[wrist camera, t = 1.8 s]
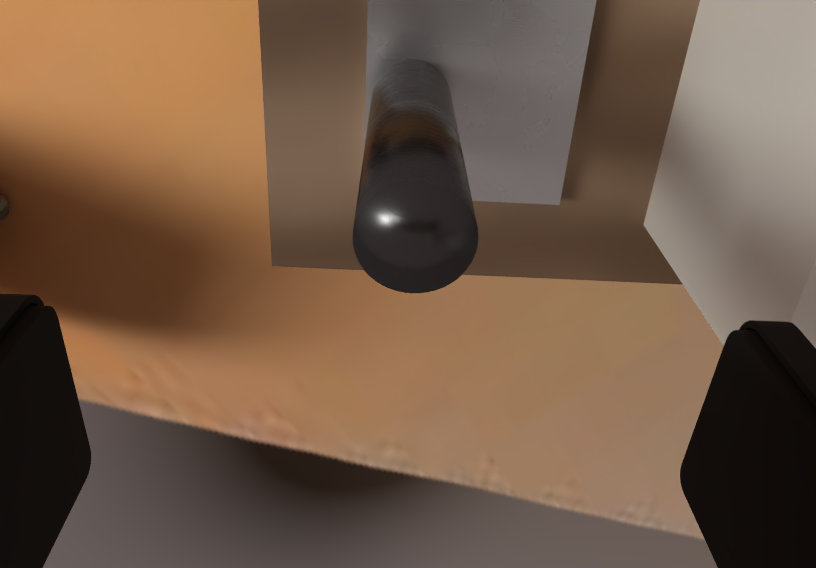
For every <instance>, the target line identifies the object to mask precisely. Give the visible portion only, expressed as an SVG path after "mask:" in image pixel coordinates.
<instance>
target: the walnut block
mask: <svg viewBox="0 0 816 568" xmlns="http://www.w3.org/2000/svg"><path fill="white" fill-rule="evenodd" d="M699 2H700V0H596V6H595V12H594V17H593V23H592V28H591V34H590V39H589V45H588V50H587V56H586V61H585V67H584V72H583V78H582V83H581V89H580V94H579V100H578V106H577V111H576V117H575V122H574V128H573V133H572V139H571V144H570V150H569V155H568V161H567V166H566V172H565V177H564V183H563V188H562V194H561V200H560V205H550V204H529V203H508V202H487V201H472V202H473V207H474V212H475V217H476V222H477V227H478V246H477V251H476V253H475V256H474V258H473V260H472V262H471V264H470V265H469V267H468V268H467V270H466V271H465V272H464V273H463V275H485V276H507V277H530V278H552V279H575V280H597V281H619V282H642V283H664V284H682V282H681V281H680V279H679V278H678V276H677V275H676V273H675V272H674V270H673V269H672V267H671V266H670V264H669V263H668V261H667V260H666V258H665V257H664V255H663V254H662V252H661V251H660V249H659V248H658V246H657V245H656V243H655V242H654V240H653V239H652V237H651V236H650V234H649V233H648V231H647V229H646V228H645V226H644V221H645V217H646V213H647V209H648V205H649V201H650V197H651V193H652V189H653V185H654V181H655V177H656V173H657V169H658V165H659V161H660V157H661V153H662V149H663V145H664V141H665V137H666V133H667V129H668V125H669V121H670V117H671V114H672V110H673V106H674V102H675V98H676V94H677V90H678V86H679V82H680V78H681V74H682V70H683V66H684V62H685V58H686V54H687V50H688V46H689V42H690V38H691V34H692V30H693V26H694V22H695V18H696V14H697V10H698V6H699ZM258 5H259V25H260V44H261V63H262V82H263V101H264V120H265V139H266V158H267V178H268V197H269V216H270V235H271V254H272V266H284V267H306V268H328V269H351V270H364V269H363V268H362V266H361V265H360V263H359V261H358V259H357V257H356V254H355V252H354V247H353V238H352V236H353V226H354V219H355V212H356V205H357V198H358V191H359V184H360V176H361V169H362V162H363V155H364V146H365V103H366V60H367V17H368V0H258Z"/></svg>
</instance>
